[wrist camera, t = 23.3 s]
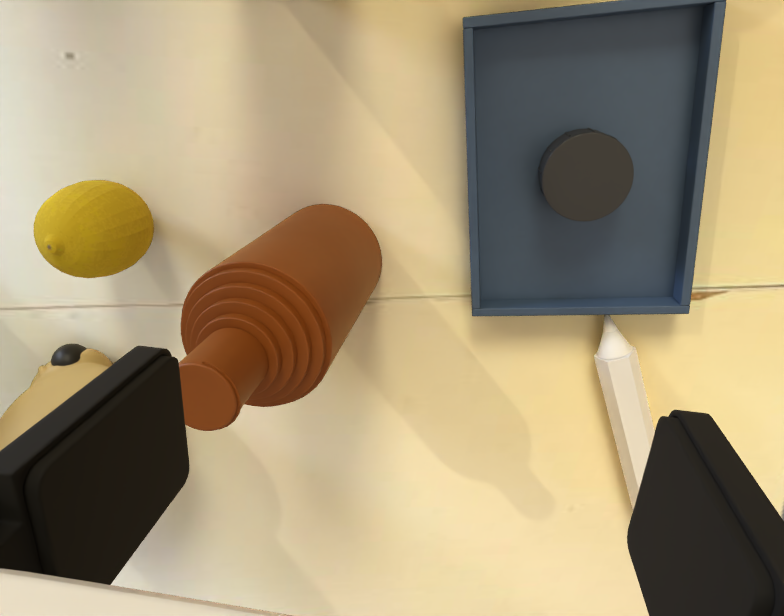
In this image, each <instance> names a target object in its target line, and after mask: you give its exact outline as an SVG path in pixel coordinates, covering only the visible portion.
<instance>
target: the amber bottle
mask: <svg viewBox="0 0 784 616" xmlns="http://www.w3.org/2000/svg"><path fill="white" fill-rule="evenodd" d="M381 267H382V257H381V250H380V247H379V243H378V241H377V239H376V237H375V235H374V233H373V231H372V230H371V229H370V227H369V226H368V225H367V224H366V223H365V222H364V221H363V220H362V219H361V218H360V217H359V216H357V215H356V214H354V213H353V212H351V211H349V210H347V209H345V208H342V207H339V206H335V205H329V204H319V205H312V206H308V207H306V208H303V209H301V210H299V211H297V212H296V213H294V214H293V215H291V216H290V217H288V218H287V219H285V220H284V221H282V222H281V223H279V224H278V225H276V226H275V227H273V228H272V229H270V230H269V231H267V232H266V233H264V234H263V235H261V236H260V237H258V238H257V239H255V240H254V241H252V242H251V243H249V244H248V245H246V246H245V247H243V248H242V249H240V250H239V251H237V252H236V253H234V254H233V255H231V256H230V257H229V258H227V259H226V260H224V261H223V262H221V263H220V264H218V265H217V266H215V267H214V268H212V269H211V270H209V271H208V272H206V273H205V274H204V275H202V276H201V277H200V278H199V279H198V280H197V281H196V282H195V283H194V285H193V286H192V287H191V289H190V291H189V292H188V294H187V297H186V299H185V301H184V305H183V309H182V317H181V336H182V342H183V345H184V349H185V352H186V354H187V356H186V357H185V358H184V359H183V360H182V361H180V362H179V370H180V380H181V390H182V399H183V409H184V419H185V424H186V425H187V426H189V427H192V428H194V429H198V430H203V431H212V430H217V429H222V428H224V427H227V426H229V425H230V424H231V423H233V422H234V421H235V419H236V418H237V416H238V415H239V413H240V409H241V408H242V406H243V405H244V404H246V405H251V406H260V407H269V406H277V405H282V404H286V403H290V402H293V401H296V400H298V399H300V398H302V397H304V396H305V395H307V394H308V393H310V392H311V391H312V390H313V389H314V388H316V387H317V385H318V384H319V383H320V382H321V381H322V379H323V377H324V376H325V374H326V372H327V371H328V369H329V367H330V365H331V363H332V362H333V360H334V358H335V356H336V355H337V353H338V351H339V349H340V348H341V346H342V344H343V342H344V341H345V339H346V337H347V335H348V334H349V332H350V330H351V328H352V327H353V325H354V323H355V321H356V320H357V318H358V316H359V314H360V313H361V311H362V309H363V307H364V306H365V304H366V302H367V300H368V299H369V297H370V295H371V293H372V291H373V290H374V288H375V286H376V284H377V282H378V280H379V277H380V273H381Z"/></svg>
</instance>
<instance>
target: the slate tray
mask: <svg viewBox="0 0 784 616" xmlns="http://www.w3.org/2000/svg"><path fill="white" fill-rule="evenodd" d="M725 8H726V0H619V1H610V2H601V3H591V4H582V5H573V6H564V7H555V8H545V9H536V10H527V11H518V12H509V13H499V14H490V15H481V16H472V17H464V18H463V45H464V77H465V108H466V140H467V171H468V202H469V234H470V265H471V297H472V316H538V315H623V314H689V308H690V306H689V305H690V300H691V292H692V283H693V275H694V267H695V258H696V250H697V242H698V233H699V225H700V217H701V208H702V200H703V192H704V183H705V175H706V167H707V158H708V150H709V142H710V133H711V125H712V117H713V108H714V100H715V92H716V83H717V75H718V67H719V58H720V50H721V42H722V33H723V25H724V17H725ZM588 128H591V129H594V130H597V131H600V132H602V133H605V134H607V135H610V136H613V137H615V138H617V140H618V141H619V142H620V143H621V144H622V145H623V146H624V147H625V148H626V149H627V151H628V152H629V154H630V156H631V159H632V162H633V168H634V178H633V183H632V187H631V189H630V192H629V194H628V196H627V197H626V199H625V200H624V201H623V203H622V204H621V205H620V206H619V207H618V208H617V209H616V210H614V211H613V212H612V213H610V214H609V215H607V216H605V217H603V218H600V219H597V220H593V221H574V220H570V219H567V218H565V217H563V216H561V215H560V214H558V213H556V211H554V210H553V209H552V207H551V206H550V205H549V203H548V202H547V200H546V198H545V196H543V194H542V192H541V190H540V188H541V186H540V183H539V175H538V172H539V170H538V167H539V165H540V161H541V159H542V156H543V154H544V152H545V151H546V149H547V146H548V147H549V145H550V144H551V143H552V142H553V141H554V140H555V139H557V138H558V137H560V136H561V135H563V134H565V132H569V131H572V130H576V129H588Z"/></svg>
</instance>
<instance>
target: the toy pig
mask: <svg viewBox="0 0 784 616" xmlns="http://www.w3.org/2000/svg"><path fill="white" fill-rule="evenodd" d="M111 365H113V364H112V363H111V361H110V360H109V359H108V358H107V357H106V356H105V355H104V354H103V353H101V352H99V351H97V350H94V349H87V348H85V347H83V346H81V345H78V344H67V345H64V346H61V347H60V348H58V349H57V350H56V351H55V352H54V354H53V356H52V359H51V361H50V362H49V363H47V364H46V365H45V366H44V365H42V366H40V367H39V369H38V373H37V375H36V376H35V377H34V379H33V381H32V383H31V386H30V388H29V389H27V390H26V391H25V392H24V393H23V394H21V395H20V396H19V397H18V398H17V399H16V400H15V401H14V402H13V403H12V404H11V406H10V407H9V408H8V409H7V410H6V412H5V413H4V414H3V416H2V417H1V419H0V451H1V450H2V449H3V448H5V447H6V446H7V445H9V444H10V443H11V442H12V441H14V440H15V439H16V438H18V437H19V436H20V435H22V434H23V433H24V432H25V431H27V430H28V429H29V428H31V427H32V426H33V425H35V424H36V423H37V422H39V421H40V420H41V419H42V418H44V417H45V416H46V415H48V414H49V413H50V412H52V411H53V410H54V409H55V408H57V407H58V406H59V405H61V404H62V403H63V402H65V401H66V400H67V399H68V398H70V397H71V396H72V395H74V394H75V393H76V392H78V391H79V390H80V389H82V388H83V387H84V386H85V385H87V384H88V383H89V382H91V381H92V380H93V379H95V378H96V377H97V376H98V375H100V374H101V373H102V372H104V371H105V370H106V369H108V368H109V367H110V366H111Z"/></svg>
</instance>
